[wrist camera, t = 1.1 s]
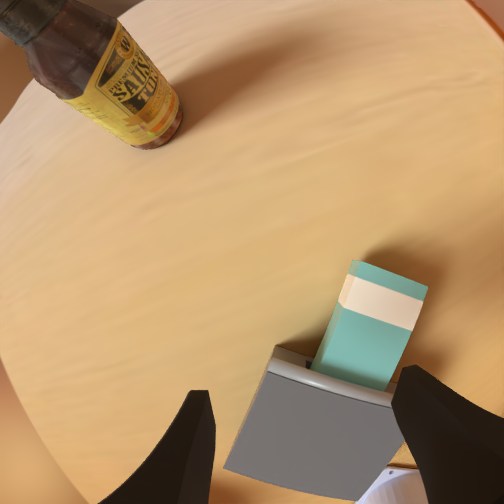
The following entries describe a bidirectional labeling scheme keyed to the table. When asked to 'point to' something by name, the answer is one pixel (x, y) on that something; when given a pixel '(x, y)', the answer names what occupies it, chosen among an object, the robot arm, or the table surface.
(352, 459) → the dispenser
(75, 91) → the sauce bottle
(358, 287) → the teal long block
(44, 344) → the table surface
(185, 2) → the table surface
